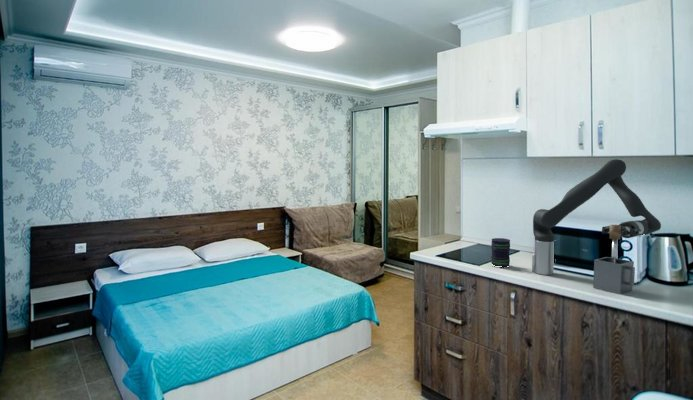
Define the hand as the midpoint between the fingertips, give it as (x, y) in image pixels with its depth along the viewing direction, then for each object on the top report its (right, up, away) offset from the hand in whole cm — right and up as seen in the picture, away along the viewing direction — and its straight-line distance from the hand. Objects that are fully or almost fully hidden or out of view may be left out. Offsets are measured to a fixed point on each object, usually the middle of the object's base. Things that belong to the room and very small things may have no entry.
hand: (612, 232), depth 174 cm
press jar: (+3, -26, +2) cm, 26 cm away
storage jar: (-31, -23, +47) cm, 61 cm away
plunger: (+2, -19, +3) cm, 19 cm away
